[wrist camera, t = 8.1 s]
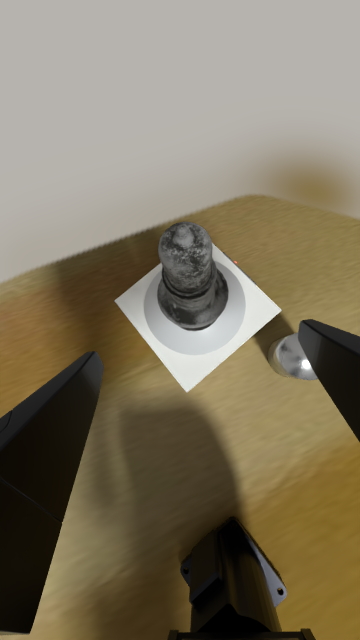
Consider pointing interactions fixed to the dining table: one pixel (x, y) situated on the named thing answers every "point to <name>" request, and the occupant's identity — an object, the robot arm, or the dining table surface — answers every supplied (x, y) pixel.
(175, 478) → the dining table surface
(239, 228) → the dining table surface
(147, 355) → the dining table surface
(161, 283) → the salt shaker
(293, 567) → the dining table surface
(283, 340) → the spacer
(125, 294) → the scale
